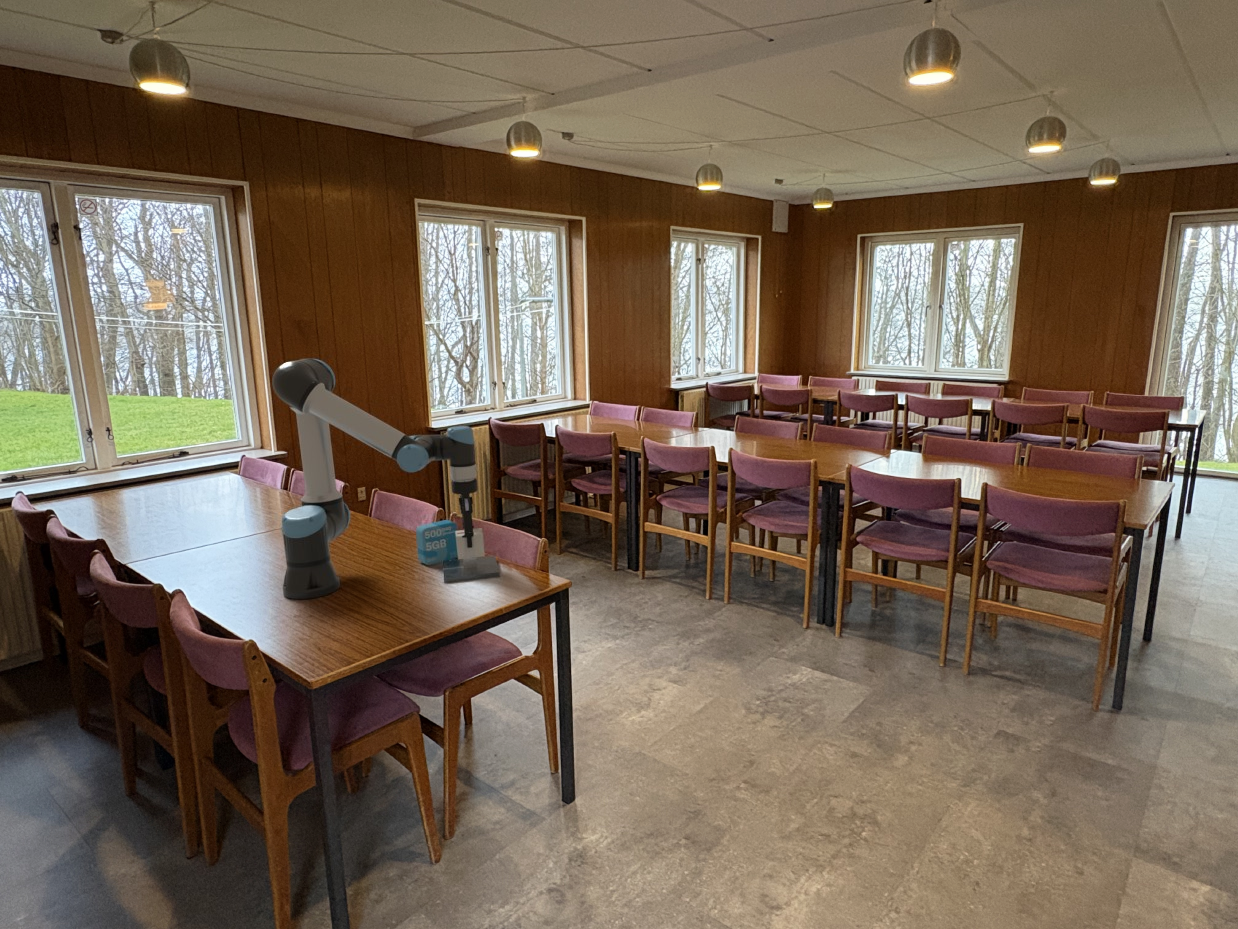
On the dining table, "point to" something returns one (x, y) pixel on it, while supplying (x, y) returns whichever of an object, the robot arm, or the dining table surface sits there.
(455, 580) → the plate
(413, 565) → the dining table surface
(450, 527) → the data package
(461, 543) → the white box
